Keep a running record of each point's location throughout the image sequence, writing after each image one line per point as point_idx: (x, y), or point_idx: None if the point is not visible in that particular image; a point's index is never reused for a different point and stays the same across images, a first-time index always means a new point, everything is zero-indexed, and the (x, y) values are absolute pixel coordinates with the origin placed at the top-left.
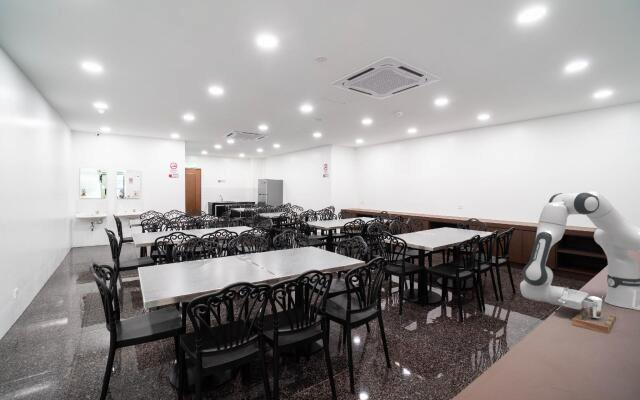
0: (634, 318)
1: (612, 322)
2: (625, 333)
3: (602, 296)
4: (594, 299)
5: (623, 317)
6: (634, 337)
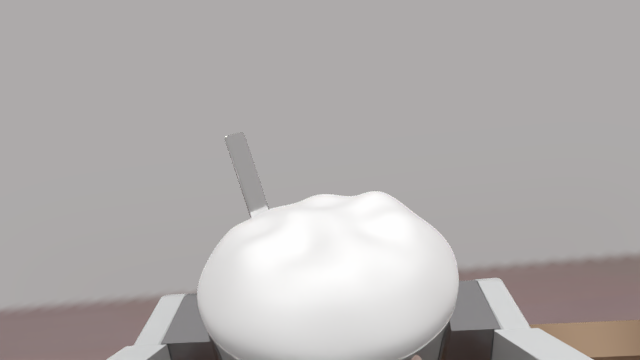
0: (68, 304)
1: None
2: (589, 290)
3: (242, 165)
4: (448, 250)
5: (73, 350)
6: (610, 256)
